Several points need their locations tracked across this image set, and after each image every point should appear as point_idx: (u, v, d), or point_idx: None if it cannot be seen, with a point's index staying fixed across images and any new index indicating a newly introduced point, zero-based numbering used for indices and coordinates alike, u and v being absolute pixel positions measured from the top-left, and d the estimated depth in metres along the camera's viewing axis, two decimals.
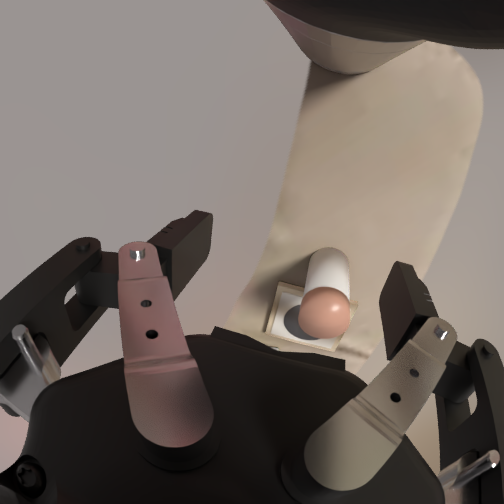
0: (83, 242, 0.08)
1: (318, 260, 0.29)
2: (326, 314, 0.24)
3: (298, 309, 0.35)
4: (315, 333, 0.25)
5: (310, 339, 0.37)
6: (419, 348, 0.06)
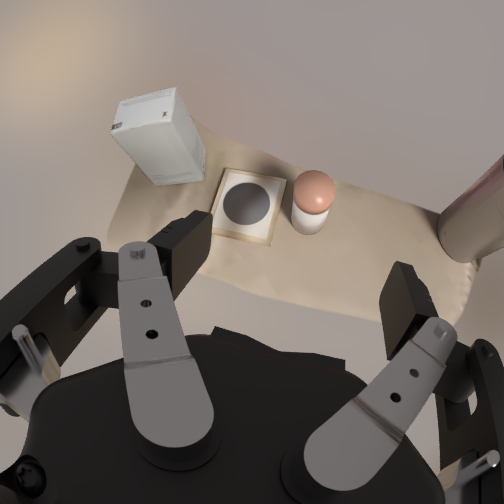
0: (83, 242, 0.08)
1: None
2: (322, 189, 0.30)
3: (263, 194, 0.39)
4: (299, 182, 0.31)
5: (223, 206, 0.39)
6: (419, 348, 0.06)
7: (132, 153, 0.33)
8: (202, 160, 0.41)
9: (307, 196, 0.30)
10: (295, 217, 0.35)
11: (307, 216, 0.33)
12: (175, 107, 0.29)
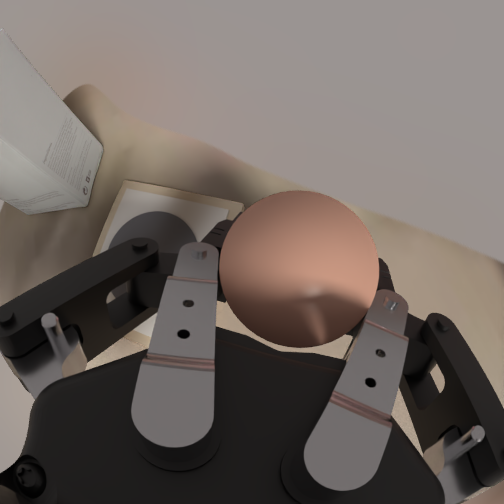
0: (140, 243, 0.08)
1: None
2: (328, 271, 0.08)
3: (185, 239, 0.17)
4: (244, 238, 0.08)
5: None
6: (377, 326, 0.06)
7: None
8: (84, 166, 0.18)
9: (267, 298, 0.08)
10: None
11: None
12: None
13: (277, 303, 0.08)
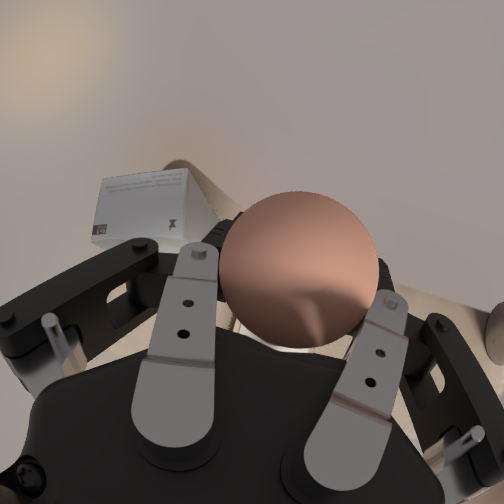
0: (140, 243, 0.08)
1: None
2: (328, 272, 0.08)
3: None
4: (244, 239, 0.08)
5: None
6: (377, 326, 0.06)
7: None
8: None
9: (267, 299, 0.08)
10: None
11: None
12: (188, 207, 0.20)
13: (277, 304, 0.08)
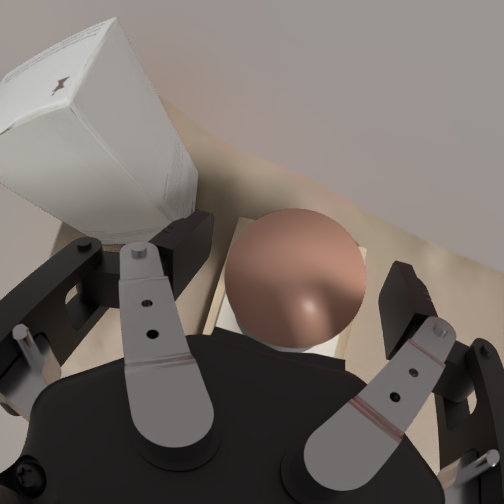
0: (84, 242, 0.08)
1: None
2: (321, 281, 0.09)
3: None
4: (246, 252, 0.09)
5: None
6: (418, 347, 0.06)
7: (25, 193, 0.12)
8: (189, 198, 0.19)
9: (266, 305, 0.09)
10: None
11: None
12: (100, 62, 0.08)
13: (275, 309, 0.09)
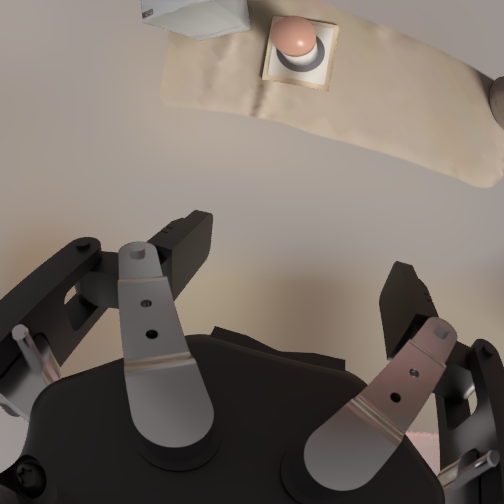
0: (83, 242, 0.08)
1: None
2: (300, 35, 0.23)
3: (316, 41, 0.29)
4: (276, 29, 0.23)
5: (277, 54, 0.32)
6: (419, 348, 0.06)
7: (171, 27, 0.25)
8: (245, 11, 0.29)
9: (284, 42, 0.24)
10: None
11: (290, 57, 0.27)
12: None
13: (287, 43, 0.24)
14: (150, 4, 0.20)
